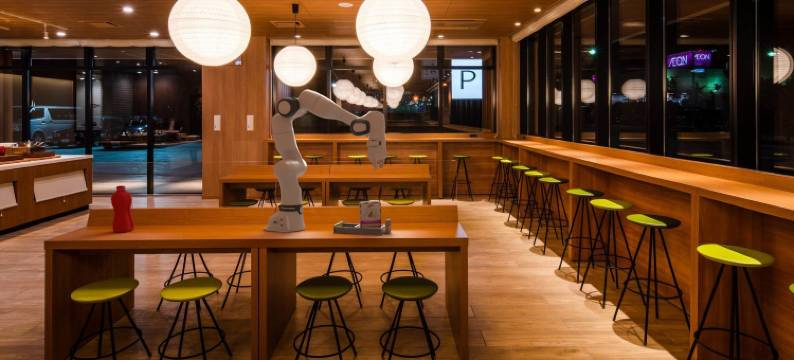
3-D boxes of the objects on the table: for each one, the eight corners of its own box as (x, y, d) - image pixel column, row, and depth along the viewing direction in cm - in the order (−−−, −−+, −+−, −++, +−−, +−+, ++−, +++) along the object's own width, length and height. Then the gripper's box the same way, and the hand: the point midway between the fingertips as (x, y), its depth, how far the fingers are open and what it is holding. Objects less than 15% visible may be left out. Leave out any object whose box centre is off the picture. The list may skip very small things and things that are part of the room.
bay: (333, 232, 282) (333, 225, 281) (341, 228, 293) (341, 221, 293) (381, 235, 275) (381, 227, 274) (387, 230, 286) (387, 223, 286)
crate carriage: (354, 232, 280) (354, 219, 280) (360, 229, 289) (360, 216, 288) (387, 234, 275) (387, 221, 275) (392, 231, 284) (392, 218, 283)
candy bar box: (379, 230, 286) (379, 200, 284) (381, 232, 281) (381, 201, 279) (359, 231, 284) (359, 201, 282) (360, 233, 279) (360, 202, 277)
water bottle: (127, 233, 282) (124, 187, 279) (109, 232, 284) (106, 186, 281) (139, 230, 291) (136, 184, 288) (122, 229, 293) (119, 184, 290)
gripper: (377, 141, 285) (378, 167, 287) (365, 143, 266) (366, 170, 267) (388, 141, 284) (390, 166, 285) (377, 142, 264) (378, 170, 265)
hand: (378, 168), depth 276 cm, fingers open, 8 cm apart
